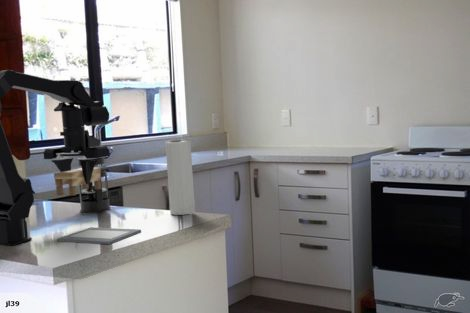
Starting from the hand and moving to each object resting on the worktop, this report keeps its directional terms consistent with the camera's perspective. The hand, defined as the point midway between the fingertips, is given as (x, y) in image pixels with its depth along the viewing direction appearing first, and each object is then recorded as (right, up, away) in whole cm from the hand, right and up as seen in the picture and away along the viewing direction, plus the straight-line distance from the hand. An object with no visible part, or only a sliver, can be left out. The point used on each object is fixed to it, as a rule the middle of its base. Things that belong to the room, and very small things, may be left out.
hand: (78, 184), depth 162 cm
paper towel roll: (+27, -9, +10) cm, 31 cm away
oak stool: (0, -2, 0) cm, 2 cm away
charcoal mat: (+9, -13, -14) cm, 21 cm away
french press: (-2, -10, +26) cm, 28 cm away
